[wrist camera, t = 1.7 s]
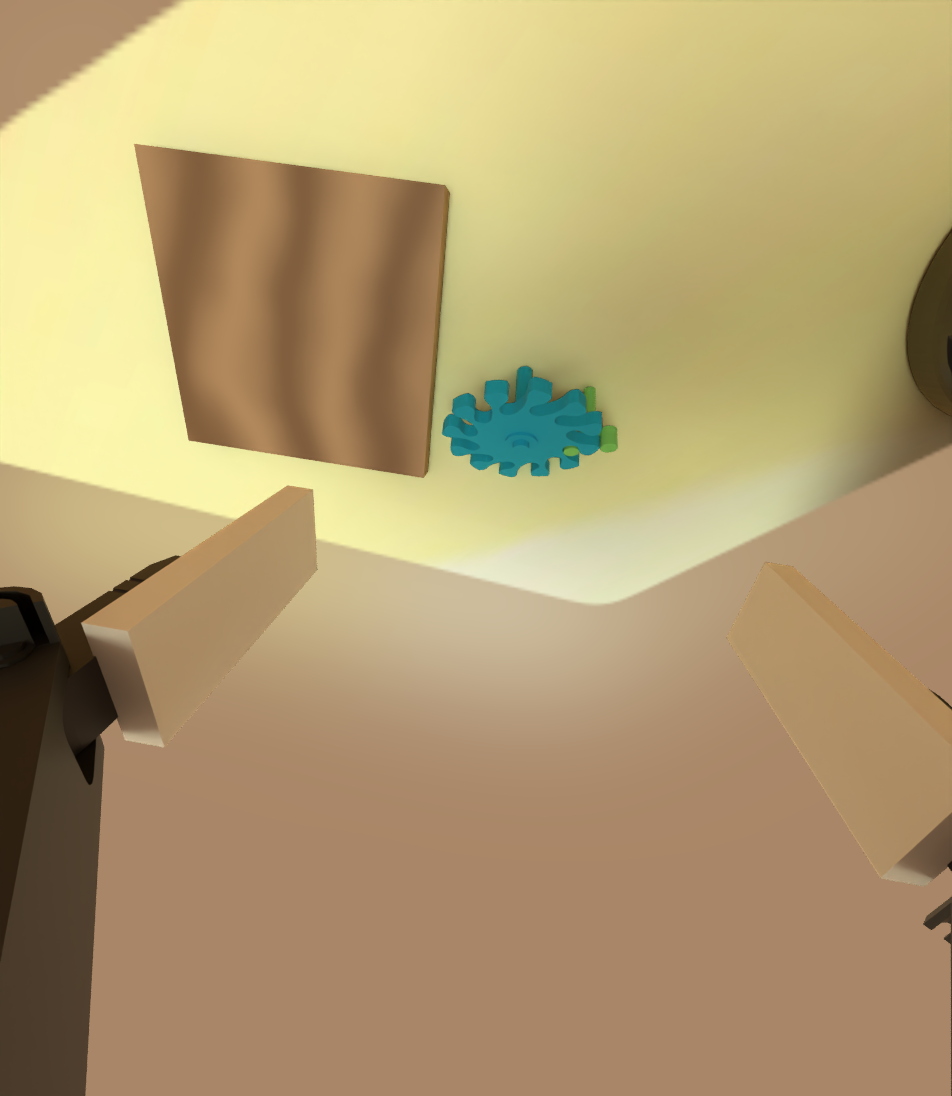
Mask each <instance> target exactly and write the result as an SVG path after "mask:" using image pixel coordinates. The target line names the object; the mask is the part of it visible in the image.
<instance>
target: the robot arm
mask: <svg viewBox="0 0 952 1096" xmlns="http://www.w3.org/2000/svg"><path fill="white" fill-rule="evenodd" d="M908 357H909V363H910V367H911V371H912V374H913V377H914V379H915V381H916V383H917V386H918V387H919V389H920V390H921V392H922V393H923V394H924V396H925V397H926V398H927V399H928V400H929V401H930V402H931V403H932V404H933V405H934V406H936V407H937V408H938V409H940V410H941V411H943V412H944V413H946V414H948V415H950V416H952V232H951V233H950V234H949V236H948V237H947V239H946V240H945V242H944V243H943V244H942V246H941V248H940V249H939V251H938V252H937V254H936V256H935V257H934V259H933V261H932V263H931V265H930V266H929V268H928V270H927V272H926V275H925V277H924V279H923V281H922V283H921V286H920V288H919V291H918V293H917V296H916V299H915V302H914V306H913V309H912V313H911V318H910V323H909V330H908ZM316 571H317V555H316V536H315V517H314V498H313V489H307V488H300V487H294V486H286V487H285V488H283V489H282V490H280V491H279V492H277V493H276V494H274V495H273V496H271V497H270V498H268V499H267V500H265V501H264V502H262V503H261V504H259V505H258V506H256V507H255V508H253V509H252V510H250V511H249V512H247V513H246V514H244V515H243V516H241V517H240V518H238V519H237V520H235V521H234V522H232V523H231V524H229V525H228V526H226V527H225V528H223V529H222V530H220V531H219V532H217V533H216V534H214V535H213V536H211V537H210V538H208V539H207V540H205V541H204V542H202V543H201V544H199V545H198V546H196V547H195V548H193V549H191V550H190V551H188V552H187V553H185V554H184V555H183V556H173V557H170V558H168V559H165V560H162V561H160V562H157V563H154V564H151V565H149V566H148V567H146V568H145V569H143V570H141V571H140V572H138V573H137V574H135V575H133V576H132V577H130V580H129V581H128V580H126V581H124V582H123V583H121V584H119V585H118V586H116V587H114V588H113V591H108V592H107V593H105V594H103V595H102V596H100V597H99V598H97V599H96V600H94V601H92V602H91V603H89V604H88V605H86V606H84V607H83V608H81V609H80V610H78V611H77V612H75V613H73V614H72V615H70V616H69V617H67V618H66V619H64V620H62V621H61V622H59V623H58V624H56V625H54V622H53V620H52V618H51V615H50V613H49V610H48V608H47V605H46V603H45V601H44V599H43V596H42V593H40V592H38V591H36V590H34V589H32V588H23V587H4V588H0V1096H85V1090H86V1089H85V1088H86V1072H87V1054H88V1035H89V1017H90V1015H89V1014H90V999H91V981H92V962H93V961H92V960H93V943H94V926H95V925H94V924H95V907H96V889H97V871H98V870H97V869H98V852H99V833H100V816H101V797H102V778H103V760H104V745H103V742H102V739H101V736H100V734H101V733H102V732H103V731H104V730H105V729H106V728H107V727H108V726H109V725H110V724H111V723H112V722H113V721H114V720H115V719H117V720H118V722H119V725H120V728H121V730H122V733H123V736H124V738H125V740H127V741H133V742H139V743H144V744H150V745H155V746H160V747H165V746H166V745H167V744H168V743H169V741H170V740H171V739H172V738H173V737H174V736H175V734H176V733H177V732H178V731H179V730H180V728H182V726H183V725H184V724H185V723H186V722H187V721H188V719H189V718H190V717H191V716H192V715H193V714H194V712H195V711H196V710H197V709H198V708H199V707H200V705H201V704H202V703H203V702H204V701H205V699H206V698H207V697H208V696H209V695H210V694H211V693H212V691H213V690H214V689H215V688H216V687H217V686H218V685H219V683H220V682H221V681H222V680H223V679H224V678H225V676H226V675H227V674H228V673H229V672H230V671H231V669H232V668H233V667H234V666H235V665H236V664H237V662H238V661H239V660H240V659H241V658H242V657H243V655H244V654H245V653H246V652H247V651H248V650H249V648H250V647H251V646H252V645H253V644H254V643H255V642H256V640H257V639H258V638H259V637H260V636H261V634H262V633H263V632H264V631H265V630H266V629H267V628H268V626H269V625H270V624H271V623H272V622H273V621H274V619H275V618H276V617H277V616H278V615H279V614H280V612H281V611H282V610H283V609H284V608H285V607H286V605H287V604H288V603H289V602H290V601H291V600H292V598H293V597H294V596H295V595H296V594H297V593H298V591H299V590H300V589H301V588H302V587H303V586H304V584H305V583H306V582H307V581H308V580H309V579H310V578H311V576H312V575H313V574H314V573H315V572H316ZM727 640H728V641H729V643H730V644H731V646H732V647H733V649H734V650H735V652H736V653H737V655H738V657H739V658H740V660H741V662H742V663H743V665H744V666H745V668H746V669H747V671H748V672H749V674H750V676H751V677H752V679H753V680H754V682H755V683H756V685H757V687H758V688H759V690H760V691H761V693H762V694H763V696H764V697H765V699H766V700H767V702H768V704H769V705H770V707H771V708H772V710H773V711H774V713H775V714H776V716H777V718H778V719H779V721H780V722H781V724H782V725H783V727H784V729H785V730H786V732H787V733H788V735H789V736H790V738H791V739H792V741H793V743H794V744H795V746H796V747H797V749H798V750H799V752H800V754H801V755H802V757H803V758H804V760H805V761H806V763H807V765H808V766H809V768H810V769H811V771H812V772H813V774H814V775H815V777H816V778H817V780H818V781H819V783H820V785H821V786H822V788H823V790H824V791H825V793H826V794H827V796H828V797H829V799H830V800H831V802H832V804H833V805H834V807H835V808H836V810H837V811H838V813H839V814H840V816H841V818H842V819H843V821H844V822H845V824H846V825H847V827H848V829H849V830H850V831H851V833H852V835H853V836H854V838H855V839H856V841H857V843H858V844H859V846H860V847H861V849H862V850H863V852H864V853H865V855H866V857H867V858H868V860H869V861H870V863H871V864H872V866H873V867H874V869H875V871H876V872H877V874H878V875H879V877H880V878H882V879H887V880H892V881H898V882H903V883H909V884H914V885H920V886H926V885H927V884H928V883H929V882H931V881H932V880H933V879H934V878H935V877H937V876H938V875H939V874H940V873H941V872H942V871H944V870H945V869H946V868H947V867H949V869H950V870H951V871H952V707H951V706H950V705H949V704H948V703H947V702H946V701H944V700H943V699H942V698H941V697H940V696H938V695H937V694H936V693H934V692H932V691H931V690H930V689H928V688H927V687H925V686H924V685H923V684H922V683H921V682H920V681H919V680H918V679H916V677H914V676H913V675H912V674H911V673H910V672H909V671H908V670H907V669H906V668H904V667H903V666H902V665H901V664H900V663H899V662H898V661H897V660H896V659H894V658H893V657H892V656H891V655H890V654H889V653H888V652H887V651H885V649H883V648H882V647H881V646H880V645H879V644H878V643H877V642H876V641H875V640H873V639H872V638H871V637H870V636H869V635H868V634H867V633H865V631H863V630H862V629H861V628H860V627H859V626H858V625H857V624H856V623H854V621H852V620H851V619H850V618H849V617H848V616H847V615H846V614H845V613H844V612H842V611H841V610H840V609H839V608H838V607H837V606H836V605H835V604H834V603H832V602H831V601H830V600H829V599H828V598H827V597H826V596H825V595H824V594H822V593H821V592H820V591H819V590H818V589H817V588H816V587H815V586H814V585H813V584H811V583H810V582H809V581H808V580H807V579H806V578H805V577H804V576H803V575H801V574H800V573H799V572H798V571H797V570H796V569H795V568H794V567H792V566H787V565H781V564H774V563H769V562H765V563H764V565H763V567H762V569H761V571H760V573H759V575H758V577H757V579H756V581H755V583H754V585H753V587H752V589H751V591H750V592H749V594H748V596H747V598H746V600H745V603H744V604H743V606H742V608H741V610H740V612H739V614H738V616H737V618H736V620H735V622H734V624H733V626H732V628H731V630H730V632H729V634H728V636H727ZM942 922H948V923H950V924H951V933H949V934H948V935H947V936H946V937H944V940H946V941H947V942H949V943H950V944H951V1096H952V897H951V898H949V899H948V900H947V901H945V902H944V903H943V904H942V905H940V906H939V907H938V908H937V909H935V910H934V911H933V912H931V913H930V914H929V915H928V916H927V917H926V919H925V921H924V923H923V924H924V925H925V926H926V927H928V928H929V929H931V930H932V929H934V928H935V927H936V926H938V925H939V924H940V923H942Z"/></svg>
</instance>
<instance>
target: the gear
mask: <svg viewBox="0 0 952 1096" xmlns="http://www.w3.org/2000/svg"><path fill="white" fill-rule="evenodd" d="M508 395H509V383H508V382H507V381H504V380H491V381H486V384H485V394H484V399H485V401H486V402H487V403H488V404H489V405H490V406H491V408H492V409H491V410H489V411H486V412H483V411H479V410H477V409H476V407H475V404H476V399H475V397H474V396H473V395H471V394H469V393H467V394H463V395H460V396H458V397H456V398H455V399H453V408H452V412H453V414H454V415H453V414H449V415H448V416H447V417H446V418H445V420H444V423H443V432H442V434H443V435H444V436H447V437H452V440H451V452H452V454H453V455H455V456H463V455H466V454H471V459H470V464H471V465H472V466H473V467H475V468H476V469H478V470H484V469H486V468H487V467H488V466H490V465H492V464H495V463H499V462H500V467H499V474H502V475H505V476H509V477H514V476H516V475H517V470H518V469H519V468H520V467H521V466H523V465H525V464H527V463H531V462H532V463H531V475H532V476H548V475H549V461H548V460H547V459H549V458H551V457H559V458H560V467H561V468H562V469H571V468H574V467H577V466H579V451H580V453H581V454H583V455H591V454H593V453H595V452H596V451H597V450H598V449H599V448H600V449H601V451H603V452H613V451H615V450H616V449H617V428H616V427H615V426H605V427H603V419H602V412H599V411H595V388H594V387H587V388H585V389H584V394H583V393H582V392H581V391H580V390H579V389H574V390H571V391H569V392H567V393H566V394H565V395H564V396H563V397H561V398H559V399H558V400H555V401H552V402H549V401H550V400H551V398H552V383H551V382H549V381H547V380H545V379H542V378H538V377H533V378H532V369H531V368H530V367H527V366H523V367H520V368H519V369H518V370H517V384H516V401H515V402H514V403H506V402H507V401H508ZM547 402H548V403H547ZM461 418H462V419H465V420H467V421H469V422H470V423H471V424H473V425H468V424H466V423H464V422H463V420H462V419H461Z"/></svg>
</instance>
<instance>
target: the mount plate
mask: <svg viewBox="0 0 952 1096" xmlns="http://www.w3.org/2000/svg"><path fill="white" fill-rule="evenodd" d="M134 146H135V151H136V157H137V162H138V167H139V173H140V178H141V184H142V189H143V195H144V200H145V205H146V211H147V216H148V222H149V227H150V233H151V238H152V243H153V249H154V254H155V260H156V265H157V271H158V276H159V281H160V287H161V292H162V298H163V303H164V309H165V314H166V319H167V325H168V330H169V336H170V341H171V347H172V352H173V357H174V363H175V368H176V374H177V379H178V385H179V390H180V395H181V401H182V406H183V412H184V417H185V423H186V428H187V433H188V439H189V440H190V441H196V442H202V443H209V444H215V445H221V446H227V447H234V448H240V449H246V450H252V451H259V452H265V453H271V454H278V455H284V456H290V457H296V458H303V459H309V460H315V461H321V462H328V463H334V464H340V465H347V466H353V467H359V468H365V469H372V470H378V471H384V472H390V473H397V474H403V475H409V476H416V477H422V478H424V477H425V475H426V474H427V472H428V463H429V450H430V438H431V425H432V412H433V399H434V387H435V374H436V361H437V348H438V335H439V323H440V310H441V297H442V284H443V271H444V259H445V246H446V233H447V220H448V207H449V195H450V193H449V191H448V189H447V188H446V186H445V185H439V184H431V183H424V182H416V181H409V180H401V179H394V178H386V177H379V176H371V175H364V174H356V173H349V172H341V171H334V170H326V169H319V168H311V167H304V166H296V165H289V164H281V163H274V162H266V161H259V160H251V159H244V158H236V157H229V156H221V155H214V154H206V153H199V152H191V151H184V150H176V149H169V148H161V147H154V146H146V145H139V144H134Z"/></svg>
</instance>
